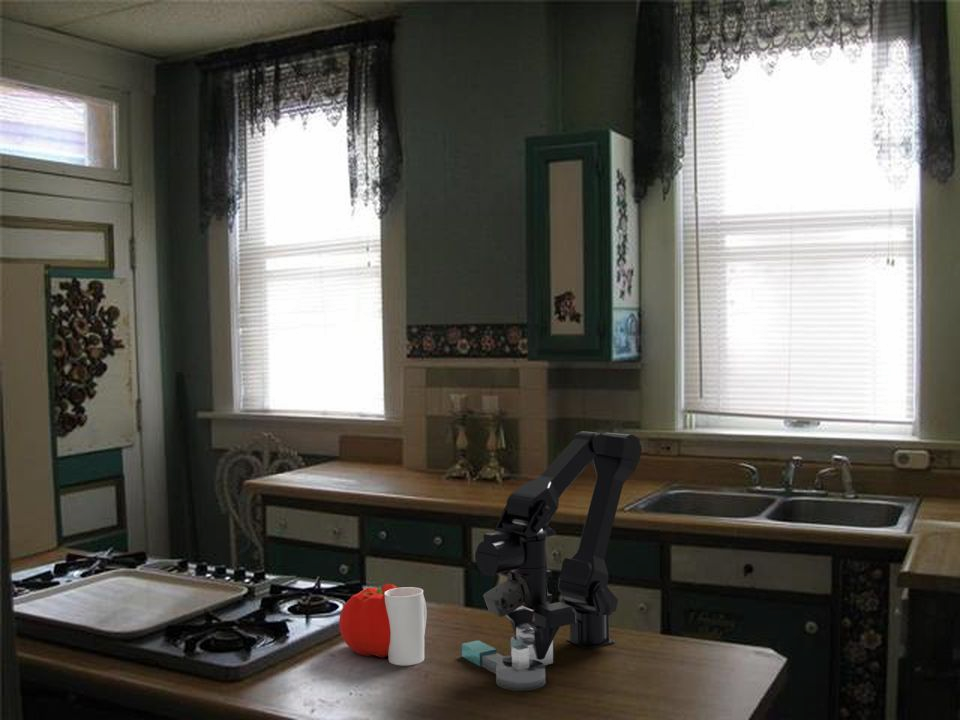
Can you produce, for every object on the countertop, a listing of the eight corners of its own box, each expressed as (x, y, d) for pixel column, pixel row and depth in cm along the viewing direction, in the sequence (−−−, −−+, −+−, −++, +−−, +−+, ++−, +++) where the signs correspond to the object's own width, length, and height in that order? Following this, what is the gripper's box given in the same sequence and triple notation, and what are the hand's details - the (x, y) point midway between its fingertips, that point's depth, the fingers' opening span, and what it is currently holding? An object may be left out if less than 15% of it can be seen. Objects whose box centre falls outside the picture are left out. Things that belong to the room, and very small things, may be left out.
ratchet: (450, 659, 176) (449, 627, 175) (489, 651, 180) (488, 619, 180) (513, 694, 158) (513, 658, 158) (555, 684, 163) (554, 649, 162)
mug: (411, 668, 171) (409, 598, 171) (379, 663, 174) (376, 594, 174) (443, 651, 180) (440, 584, 179) (411, 647, 183) (408, 581, 183)
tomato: (392, 668, 171) (390, 599, 170) (325, 658, 177) (322, 592, 177) (433, 646, 182) (430, 581, 182) (368, 638, 189) (365, 575, 189)
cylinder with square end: (535, 654, 177) (535, 621, 177) (553, 663, 173) (552, 628, 173) (511, 660, 174) (510, 626, 174) (528, 669, 170) (527, 633, 170)
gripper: (462, 561, 177) (464, 649, 177) (521, 583, 161) (523, 680, 161) (515, 552, 183) (516, 637, 183) (577, 573, 167) (579, 666, 167)
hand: (531, 654), depth 174 cm, fingers closed on cylinder with square end, 5 cm apart
